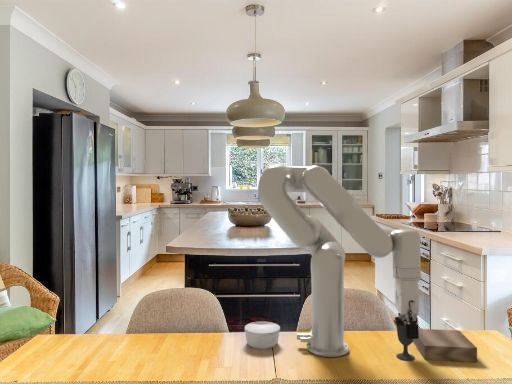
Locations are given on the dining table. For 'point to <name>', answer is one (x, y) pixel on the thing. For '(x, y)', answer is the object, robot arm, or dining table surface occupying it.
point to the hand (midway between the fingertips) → (408, 332)
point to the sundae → (403, 337)
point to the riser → (445, 345)
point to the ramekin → (262, 334)
